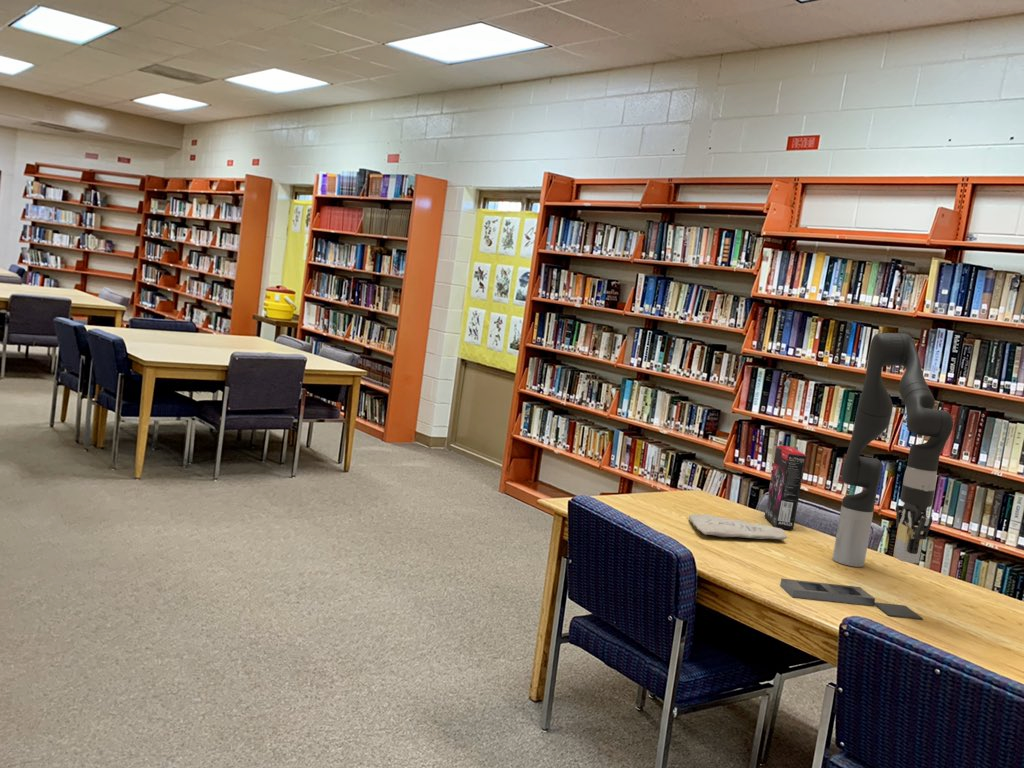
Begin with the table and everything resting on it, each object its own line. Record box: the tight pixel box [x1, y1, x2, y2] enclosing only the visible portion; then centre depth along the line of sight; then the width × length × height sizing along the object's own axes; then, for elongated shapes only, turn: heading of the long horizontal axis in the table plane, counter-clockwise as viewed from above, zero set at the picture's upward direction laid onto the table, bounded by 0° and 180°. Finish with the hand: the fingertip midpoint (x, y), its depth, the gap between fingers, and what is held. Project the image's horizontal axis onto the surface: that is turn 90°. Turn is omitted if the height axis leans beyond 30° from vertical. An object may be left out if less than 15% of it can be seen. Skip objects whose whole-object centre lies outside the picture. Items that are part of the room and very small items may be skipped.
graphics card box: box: [764, 445, 807, 531], centre depth 307 cm, size 17×7×27 cm, turn 178°
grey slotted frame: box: [779, 578, 876, 607], centre depth 230 cm, size 9×22×2 cm, turn 92°
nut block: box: [892, 523, 924, 564], centre depth 222 cm, size 4×4×9 cm
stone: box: [688, 513, 788, 541], centre depth 285 cm, size 25×5×30 cm
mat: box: [874, 601, 924, 621], centre depth 224 cm, size 9×9×1 cm
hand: (907, 550), depth 222 cm, fingers closed on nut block, 4 cm apart
